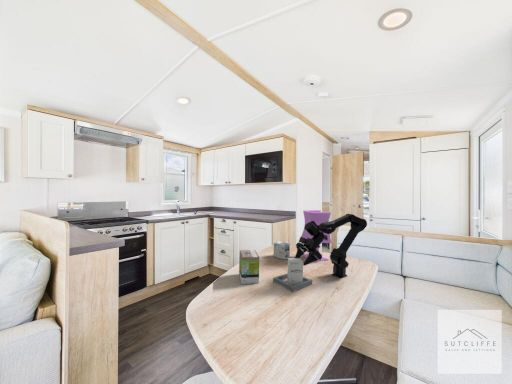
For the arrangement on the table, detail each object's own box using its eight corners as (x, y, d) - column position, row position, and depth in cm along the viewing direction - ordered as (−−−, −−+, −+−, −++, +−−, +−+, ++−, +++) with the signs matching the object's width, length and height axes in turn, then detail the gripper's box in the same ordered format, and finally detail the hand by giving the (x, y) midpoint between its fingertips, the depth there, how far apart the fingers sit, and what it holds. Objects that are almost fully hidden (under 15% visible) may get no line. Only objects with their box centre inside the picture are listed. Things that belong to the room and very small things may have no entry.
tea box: (259, 283, 124) (260, 256, 123) (241, 284, 122) (241, 257, 122) (255, 273, 138) (255, 249, 138) (238, 273, 137) (239, 249, 136)
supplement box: (289, 285, 121) (289, 261, 121) (287, 280, 128) (287, 257, 129) (303, 285, 121) (303, 261, 121) (300, 280, 128) (300, 257, 129)
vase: (330, 260, 164) (331, 212, 163) (310, 262, 160) (311, 212, 159) (319, 254, 179) (320, 210, 178) (300, 255, 175) (301, 210, 174)
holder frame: (312, 284, 123) (312, 280, 123) (292, 291, 114) (292, 287, 114) (292, 275, 135) (292, 271, 135) (273, 281, 126) (273, 277, 126)
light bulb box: (290, 257, 169) (290, 243, 169) (284, 259, 164) (284, 245, 164) (278, 254, 177) (278, 240, 176) (273, 256, 172) (273, 242, 171)
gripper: (298, 228, 136) (282, 248, 132) (317, 235, 119) (299, 258, 115) (309, 240, 139) (293, 260, 135) (329, 248, 122) (312, 271, 118)
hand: (299, 262), depth 126 cm, fingers open, 9 cm apart
